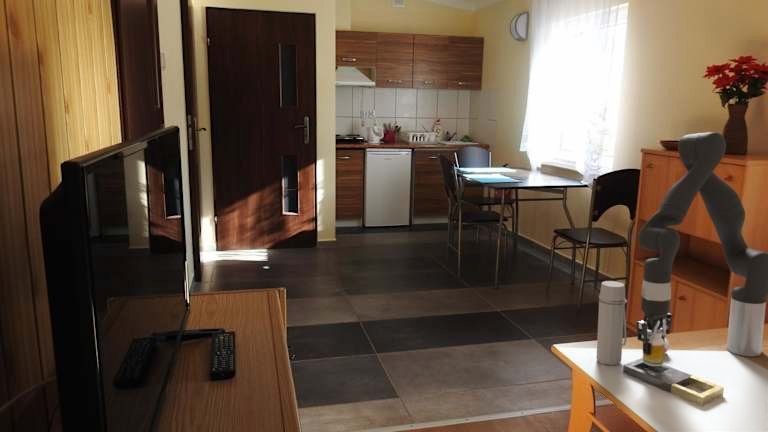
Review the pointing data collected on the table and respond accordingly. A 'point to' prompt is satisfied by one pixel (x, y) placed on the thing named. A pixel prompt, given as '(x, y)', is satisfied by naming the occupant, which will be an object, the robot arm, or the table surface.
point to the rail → (674, 382)
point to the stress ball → (666, 346)
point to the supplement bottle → (655, 350)
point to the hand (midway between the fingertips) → (653, 351)
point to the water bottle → (611, 322)
